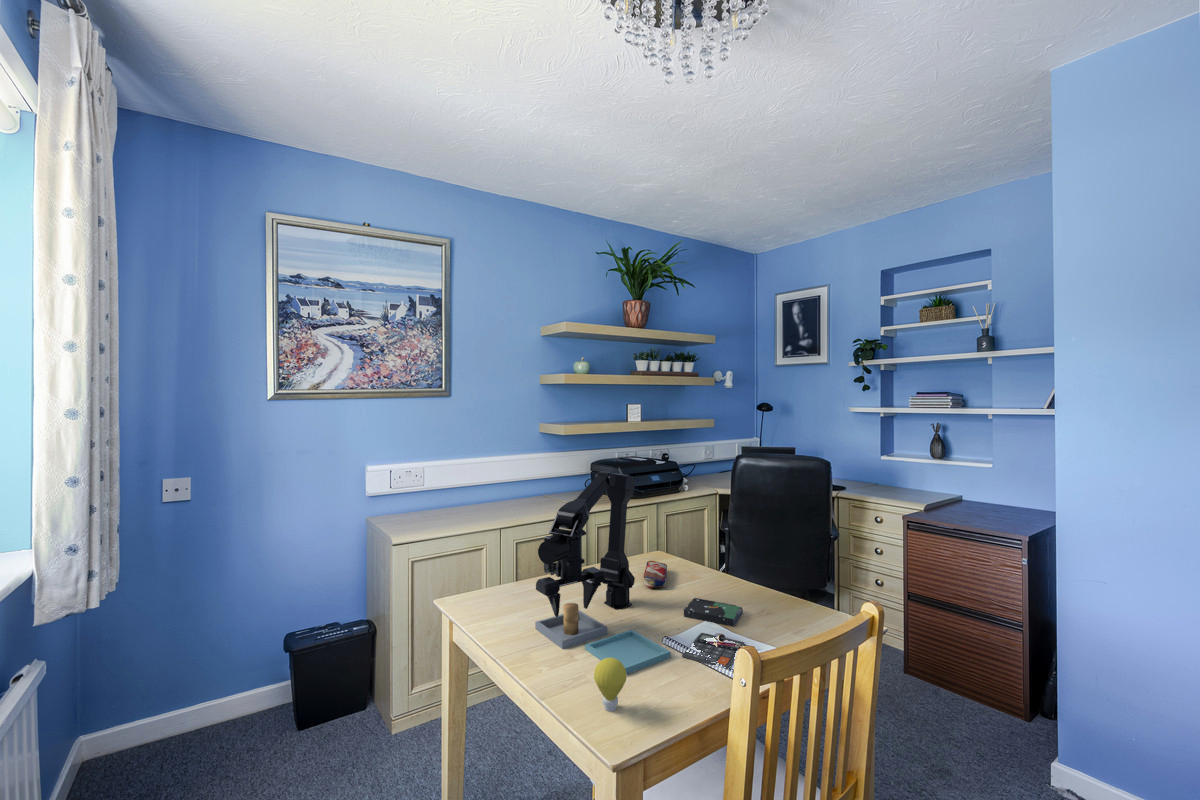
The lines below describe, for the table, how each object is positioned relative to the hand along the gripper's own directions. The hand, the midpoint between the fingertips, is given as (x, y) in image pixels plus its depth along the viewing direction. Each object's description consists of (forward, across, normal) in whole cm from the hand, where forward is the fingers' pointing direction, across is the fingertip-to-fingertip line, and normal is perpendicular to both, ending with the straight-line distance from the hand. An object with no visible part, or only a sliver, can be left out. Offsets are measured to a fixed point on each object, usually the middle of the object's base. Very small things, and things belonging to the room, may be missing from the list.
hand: (571, 612), depth 146 cm
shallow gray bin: (+6, 0, 0) cm, 6 cm away
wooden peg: (+5, 0, 0) cm, 5 cm away
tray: (+6, -5, +18) cm, 20 cm away
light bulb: (+6, +12, +34) cm, 37 cm away
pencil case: (+6, -45, -18) cm, 49 cm away
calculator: (+6, -24, +29) cm, 38 cm away
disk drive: (+6, -40, +14) cm, 43 cm away
